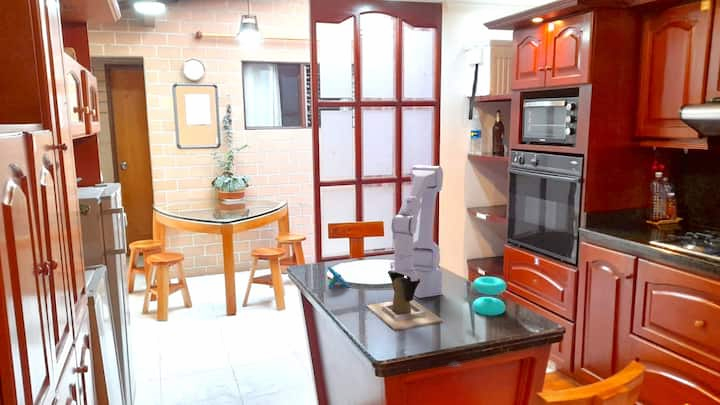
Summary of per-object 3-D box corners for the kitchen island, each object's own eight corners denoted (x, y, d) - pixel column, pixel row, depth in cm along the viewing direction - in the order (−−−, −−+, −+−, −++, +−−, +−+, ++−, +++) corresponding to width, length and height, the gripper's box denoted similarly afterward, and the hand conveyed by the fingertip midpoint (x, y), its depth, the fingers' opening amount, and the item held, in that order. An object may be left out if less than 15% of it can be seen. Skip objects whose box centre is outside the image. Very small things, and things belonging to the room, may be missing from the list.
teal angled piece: (351, 287, 181) (331, 267, 180) (340, 299, 181) (319, 280, 180) (348, 281, 192) (329, 263, 191) (337, 293, 192) (318, 274, 191)
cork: (405, 317, 157) (406, 282, 155) (388, 313, 160) (388, 279, 158) (414, 311, 162) (415, 277, 160) (397, 307, 165) (397, 274, 163)
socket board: (410, 299, 173) (411, 294, 173) (442, 321, 155) (442, 316, 155) (366, 306, 167) (366, 301, 167) (394, 330, 149) (394, 324, 149)
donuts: (489, 287, 155) (466, 278, 163) (488, 319, 157) (465, 309, 165) (513, 282, 160) (489, 273, 169) (512, 312, 162) (488, 303, 170)
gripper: (381, 249, 163) (381, 291, 165) (402, 261, 150) (402, 306, 152) (401, 247, 166) (401, 288, 168) (424, 259, 152) (423, 303, 155)
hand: (403, 296), depth 160 cm, fingers open, 7 cm apart
